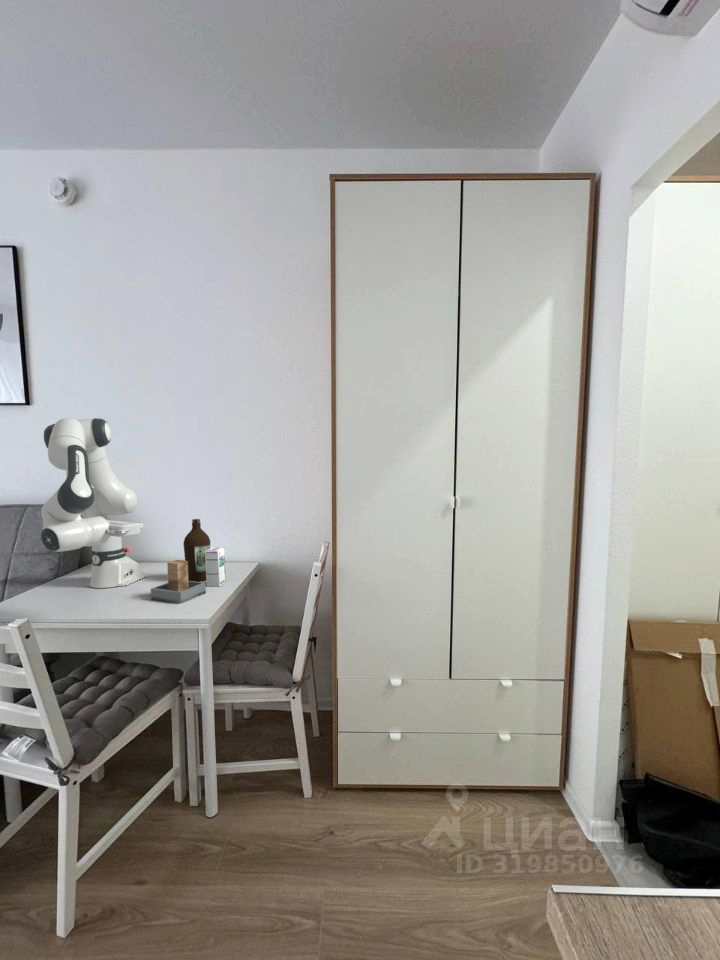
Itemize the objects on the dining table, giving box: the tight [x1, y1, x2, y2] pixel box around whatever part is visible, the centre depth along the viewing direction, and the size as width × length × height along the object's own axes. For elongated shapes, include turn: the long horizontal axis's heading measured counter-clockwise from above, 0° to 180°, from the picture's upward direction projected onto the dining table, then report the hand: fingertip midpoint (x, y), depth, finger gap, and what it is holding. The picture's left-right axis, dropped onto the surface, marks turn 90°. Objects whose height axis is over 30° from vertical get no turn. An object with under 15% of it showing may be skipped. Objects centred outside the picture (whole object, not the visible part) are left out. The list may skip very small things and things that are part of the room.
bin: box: [150, 581, 207, 604], centre depth 204 cm, size 14×14×4 cm
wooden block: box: [166, 559, 189, 592], centre depth 204 cm, size 5×5×12 cm
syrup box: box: [205, 546, 227, 588], centre depth 219 cm, size 6×6×14 cm
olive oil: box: [182, 518, 211, 582], centre depth 227 cm, size 11×11×25 cm
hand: (132, 523), depth 188 cm, fingers open, 8 cm apart
